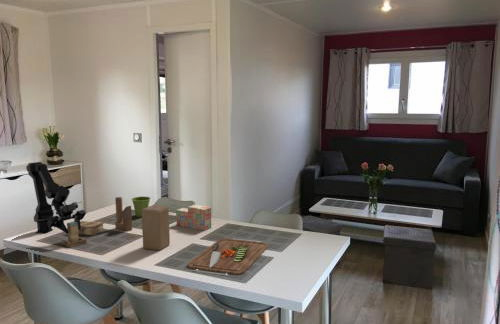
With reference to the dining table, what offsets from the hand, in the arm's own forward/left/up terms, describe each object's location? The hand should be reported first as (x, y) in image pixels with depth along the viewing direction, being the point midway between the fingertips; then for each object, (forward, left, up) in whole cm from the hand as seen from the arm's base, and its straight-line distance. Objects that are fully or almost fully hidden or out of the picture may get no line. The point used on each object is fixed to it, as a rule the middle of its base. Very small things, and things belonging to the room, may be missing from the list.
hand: (74, 231), depth 212 cm
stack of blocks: (+49, +41, -7) cm, 64 cm away
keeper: (-1, +1, -7) cm, 7 cm away
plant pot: (+9, +58, -7) cm, 59 cm away
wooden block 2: (+12, +29, -7) cm, 32 cm away
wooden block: (+43, +4, -7) cm, 43 cm away
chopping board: (+82, -1, -7) cm, 82 cm away
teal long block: (-1, +1, -7) cm, 7 cm away
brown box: (-5, +20, -7) cm, 22 cm away
